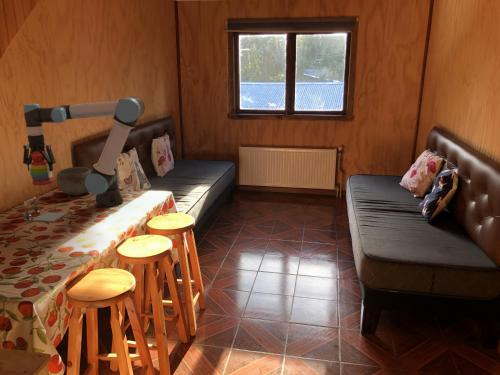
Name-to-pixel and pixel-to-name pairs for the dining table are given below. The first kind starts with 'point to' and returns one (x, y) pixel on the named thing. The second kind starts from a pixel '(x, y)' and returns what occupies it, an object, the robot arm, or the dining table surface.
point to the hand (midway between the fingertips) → (41, 176)
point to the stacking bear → (39, 170)
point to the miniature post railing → (27, 209)
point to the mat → (49, 217)
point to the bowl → (73, 180)
